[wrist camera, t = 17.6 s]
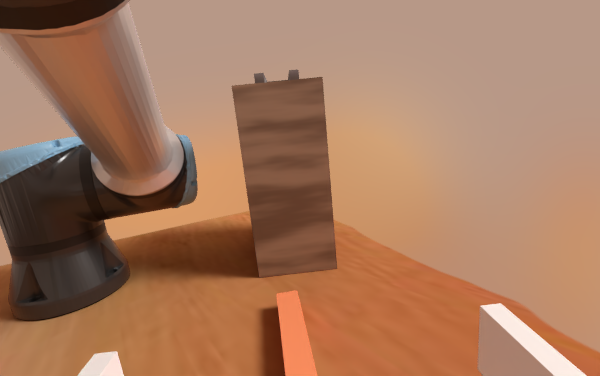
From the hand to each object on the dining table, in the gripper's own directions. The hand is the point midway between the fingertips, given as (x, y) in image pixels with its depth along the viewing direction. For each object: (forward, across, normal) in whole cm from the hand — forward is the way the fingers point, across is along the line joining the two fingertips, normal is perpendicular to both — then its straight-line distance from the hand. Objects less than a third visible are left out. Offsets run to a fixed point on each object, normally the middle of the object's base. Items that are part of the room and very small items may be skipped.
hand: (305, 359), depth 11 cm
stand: (+42, 0, -14) cm, 44 cm away
